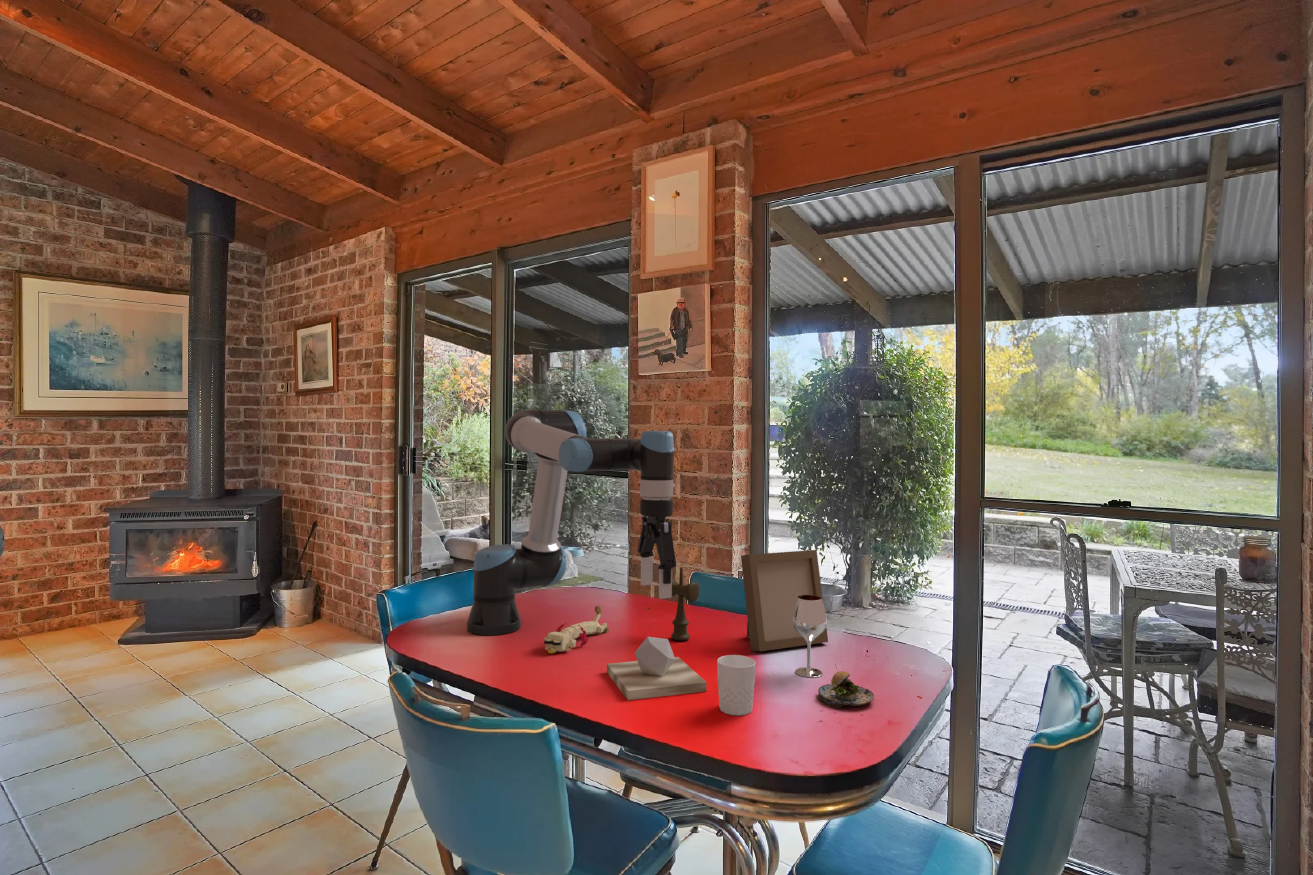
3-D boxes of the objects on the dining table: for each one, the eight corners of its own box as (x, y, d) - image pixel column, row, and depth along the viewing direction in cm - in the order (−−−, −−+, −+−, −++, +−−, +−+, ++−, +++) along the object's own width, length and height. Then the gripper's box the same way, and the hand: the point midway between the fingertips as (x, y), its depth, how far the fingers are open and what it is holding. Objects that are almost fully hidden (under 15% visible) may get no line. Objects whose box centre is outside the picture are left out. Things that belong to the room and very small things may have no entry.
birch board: (606, 672, 164) (606, 663, 164) (678, 665, 170) (678, 656, 170) (627, 700, 147) (627, 690, 147) (706, 691, 153) (706, 682, 153)
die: (680, 673, 160) (664, 634, 165) (679, 665, 153) (662, 625, 157) (647, 687, 159) (632, 647, 164) (644, 680, 152) (629, 638, 156)
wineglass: (806, 681, 160) (807, 603, 160) (784, 670, 167) (785, 595, 167) (833, 675, 164) (834, 599, 164) (810, 665, 171) (811, 592, 171)
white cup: (713, 702, 147) (714, 655, 147) (750, 701, 147) (751, 654, 147) (720, 717, 139) (720, 667, 139) (759, 716, 139) (759, 666, 139)
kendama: (673, 633, 197) (674, 563, 197) (700, 640, 191) (701, 567, 191) (660, 638, 192) (660, 566, 192) (687, 645, 186) (688, 570, 186)
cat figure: (584, 633, 200) (532, 650, 178) (586, 603, 201) (534, 615, 179) (614, 638, 196) (564, 656, 174) (616, 607, 197) (566, 620, 174)
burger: (841, 715, 141) (841, 678, 141) (806, 695, 152) (806, 661, 152) (887, 706, 146) (887, 671, 146) (850, 687, 157) (850, 654, 157)
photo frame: (828, 645, 187) (829, 553, 187) (759, 655, 179) (760, 558, 178) (795, 631, 201) (796, 544, 201) (730, 639, 192) (731, 549, 192)
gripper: (691, 503, 148) (690, 602, 148) (655, 493, 171) (654, 579, 171) (658, 504, 145) (657, 605, 145) (625, 493, 169) (624, 580, 169)
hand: (655, 591), depth 158 cm, fingers open, 13 cm apart
